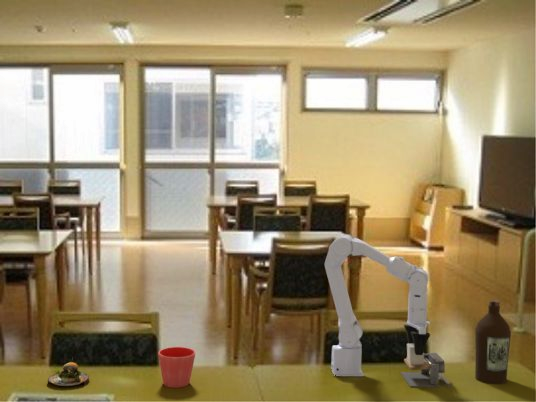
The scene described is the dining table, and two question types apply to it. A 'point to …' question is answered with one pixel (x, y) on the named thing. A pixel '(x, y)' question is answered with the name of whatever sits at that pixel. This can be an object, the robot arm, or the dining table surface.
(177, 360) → the flower pot
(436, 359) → the trapdoor
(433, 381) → the frame
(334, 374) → the robot arm
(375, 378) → the dining table surface
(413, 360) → the white rectangular block
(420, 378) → the mat
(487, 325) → the olive oil
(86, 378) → the burger
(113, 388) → the dining table surface
